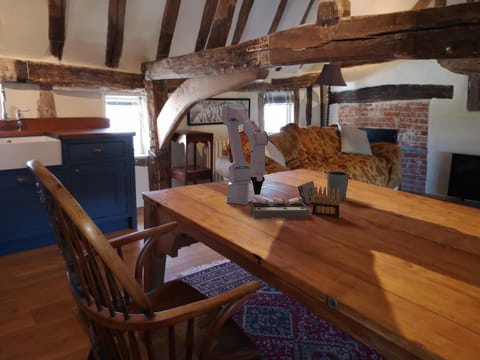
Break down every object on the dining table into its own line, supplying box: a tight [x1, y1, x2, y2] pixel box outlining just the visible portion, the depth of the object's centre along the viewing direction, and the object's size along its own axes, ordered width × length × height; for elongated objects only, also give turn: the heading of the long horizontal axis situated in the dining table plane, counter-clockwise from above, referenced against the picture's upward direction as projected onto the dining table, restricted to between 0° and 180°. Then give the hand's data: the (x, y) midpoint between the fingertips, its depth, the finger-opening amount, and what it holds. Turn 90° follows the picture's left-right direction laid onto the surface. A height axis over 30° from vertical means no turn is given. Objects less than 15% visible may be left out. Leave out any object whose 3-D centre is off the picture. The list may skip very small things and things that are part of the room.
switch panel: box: [250, 201, 310, 219], centre depth 149 cm, size 22×12×4 cm, turn 94°
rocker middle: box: [271, 196, 287, 204], centre depth 150 cm, size 5×3×2 cm, turn 96°
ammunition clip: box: [311, 185, 341, 219], centre depth 146 cm, size 11×2×12 cm, turn 70°
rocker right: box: [287, 196, 303, 204], centre depth 151 cm, size 5×3×2 cm, turn 93°
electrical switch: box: [297, 180, 316, 205], centre depth 166 cm, size 9×5×9 cm, turn 141°
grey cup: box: [326, 170, 350, 201], centre depth 172 cm, size 10×10×12 cm
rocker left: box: [254, 196, 270, 204], centre depth 150 cm, size 5×3×2 cm, turn 96°
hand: (257, 194), depth 149 cm, fingers closed
